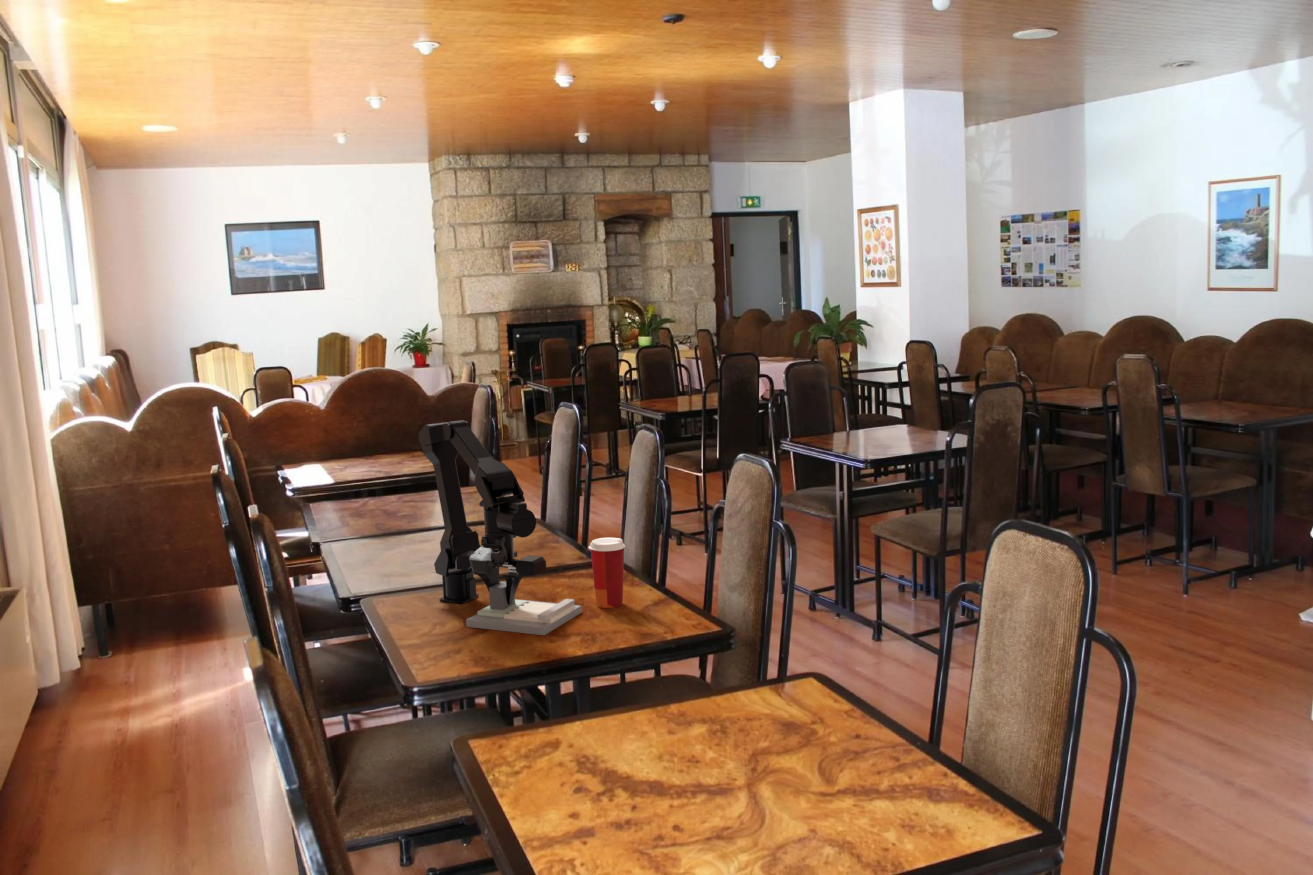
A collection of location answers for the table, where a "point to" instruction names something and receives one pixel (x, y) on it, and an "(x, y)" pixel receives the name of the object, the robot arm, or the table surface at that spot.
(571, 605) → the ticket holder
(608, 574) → the paper cup
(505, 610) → the gray block on plate
